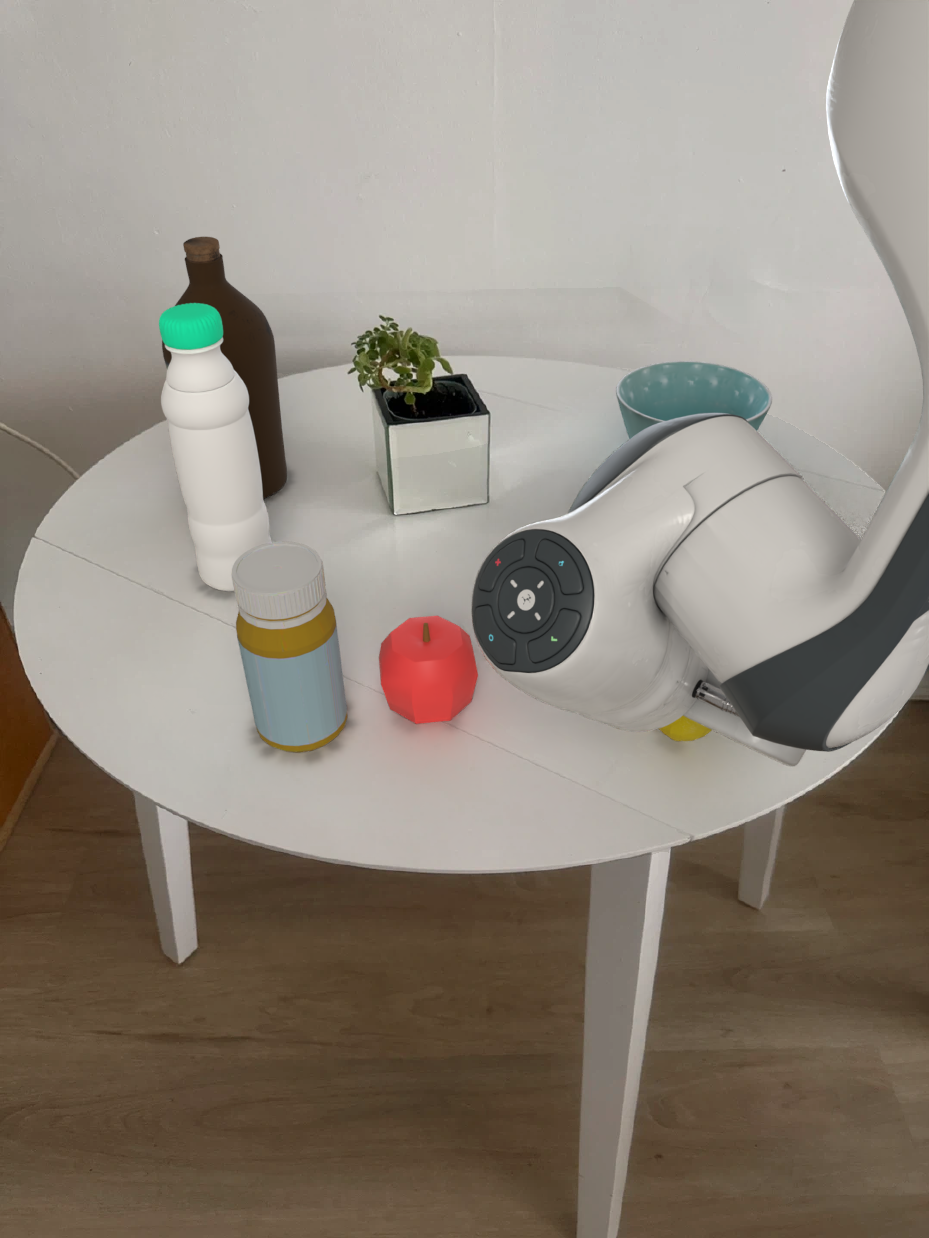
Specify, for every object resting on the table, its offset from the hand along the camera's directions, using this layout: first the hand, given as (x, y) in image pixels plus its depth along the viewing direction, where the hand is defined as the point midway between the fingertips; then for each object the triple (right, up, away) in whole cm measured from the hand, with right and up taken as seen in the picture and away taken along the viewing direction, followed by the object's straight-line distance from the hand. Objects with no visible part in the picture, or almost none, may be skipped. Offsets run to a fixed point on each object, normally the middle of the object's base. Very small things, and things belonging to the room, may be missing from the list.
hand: (691, 689), depth 73 cm
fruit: (0, -4, +3) cm, 5 cm away
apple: (-19, -2, +6) cm, 20 cm away
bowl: (+7, +22, +35) cm, 42 cm away
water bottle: (-38, +9, +20) cm, 44 cm away
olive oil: (-40, +20, +33) cm, 56 cm away
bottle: (-29, -3, +4) cm, 30 cm away
